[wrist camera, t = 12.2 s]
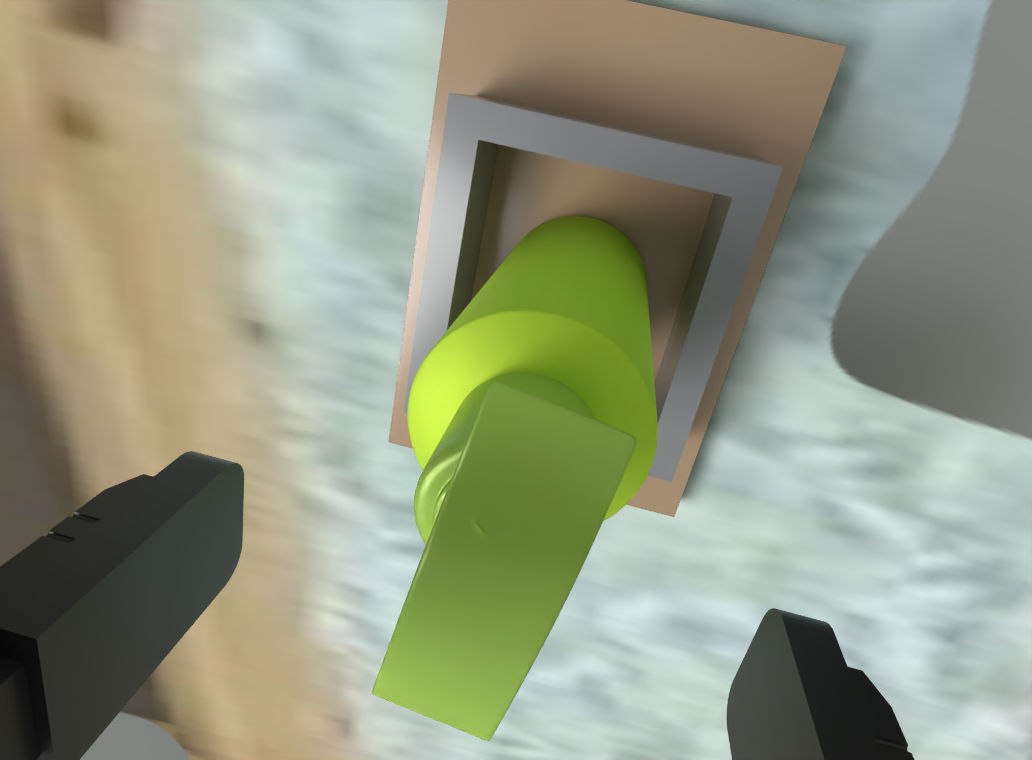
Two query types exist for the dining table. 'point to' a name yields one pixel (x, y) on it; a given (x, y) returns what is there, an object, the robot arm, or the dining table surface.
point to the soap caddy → (617, 176)
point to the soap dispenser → (520, 464)
